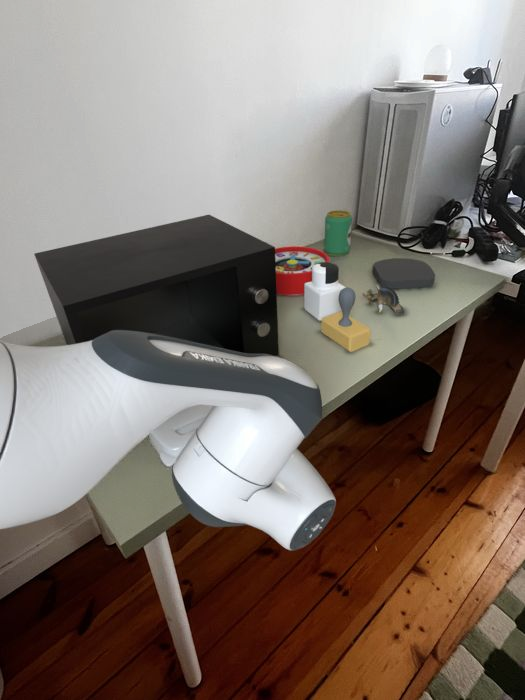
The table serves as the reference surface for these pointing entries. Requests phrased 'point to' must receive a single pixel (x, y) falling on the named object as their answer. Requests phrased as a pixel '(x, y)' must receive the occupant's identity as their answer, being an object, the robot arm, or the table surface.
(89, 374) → the robot arm
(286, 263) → the toy clock
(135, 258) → the toaster oven
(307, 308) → the medicine bottle
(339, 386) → the table surface
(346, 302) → the rubber stamp
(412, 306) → the table surface
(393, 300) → the animal figurine
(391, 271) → the media streaming box
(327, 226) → the beverage can
